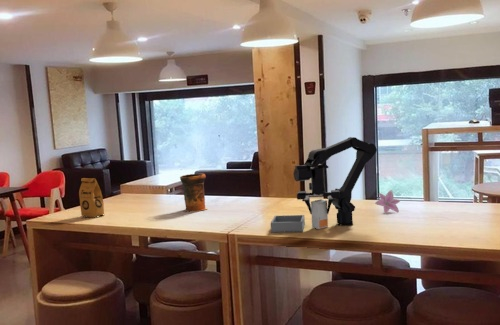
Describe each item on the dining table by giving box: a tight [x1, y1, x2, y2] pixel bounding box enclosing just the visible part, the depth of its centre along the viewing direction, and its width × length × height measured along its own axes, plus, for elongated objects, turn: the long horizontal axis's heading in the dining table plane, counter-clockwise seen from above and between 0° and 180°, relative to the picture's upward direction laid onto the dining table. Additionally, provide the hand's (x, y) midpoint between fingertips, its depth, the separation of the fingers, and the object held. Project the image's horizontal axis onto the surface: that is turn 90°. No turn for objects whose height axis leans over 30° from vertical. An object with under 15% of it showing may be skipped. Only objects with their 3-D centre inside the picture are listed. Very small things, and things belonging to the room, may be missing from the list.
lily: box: [374, 189, 401, 214], centre depth 232 cm, size 12×12×10 cm
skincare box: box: [310, 198, 329, 230], centre depth 209 cm, size 6×4×12 cm
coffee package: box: [78, 177, 105, 218], centre depth 268 cm, size 10×12×22 cm
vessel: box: [179, 173, 208, 213], centre depth 268 cm, size 14×14×20 cm
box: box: [270, 214, 306, 234], centre depth 211 cm, size 14×14×4 cm
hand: (319, 214), depth 209 cm, fingers closed on skincare box, 7 cm apart
